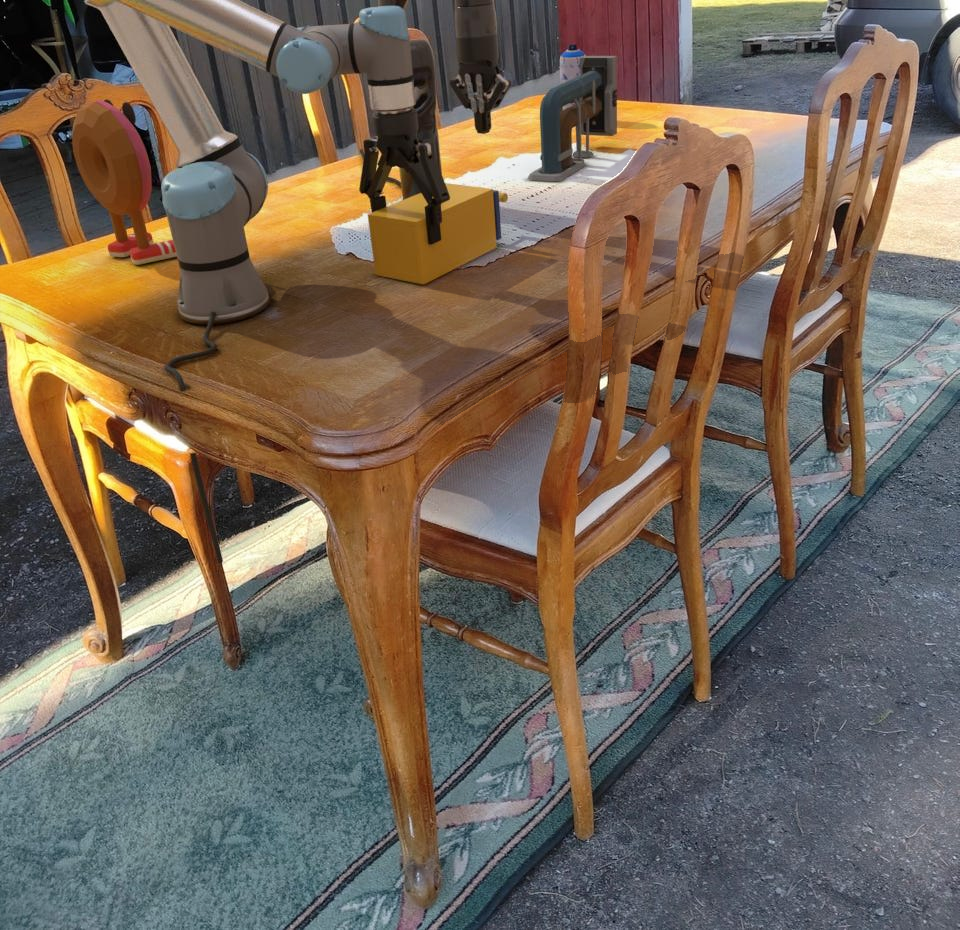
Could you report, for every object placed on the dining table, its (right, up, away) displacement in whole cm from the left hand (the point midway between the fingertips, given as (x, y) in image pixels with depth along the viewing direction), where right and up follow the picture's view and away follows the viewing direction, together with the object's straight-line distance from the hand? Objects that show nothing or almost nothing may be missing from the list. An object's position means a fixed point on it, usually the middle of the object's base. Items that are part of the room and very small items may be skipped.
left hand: (408, 237), depth 171 cm
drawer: (+8, +1, +12) cm, 15 cm away
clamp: (+35, +33, +64) cm, 80 cm away
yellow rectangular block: (+5, -2, +8) cm, 10 cm away
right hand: (+13, +22, +9) cm, 27 cm away
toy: (-56, +2, +25) cm, 61 cm away
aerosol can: (+40, +59, +106) cm, 128 cm away
